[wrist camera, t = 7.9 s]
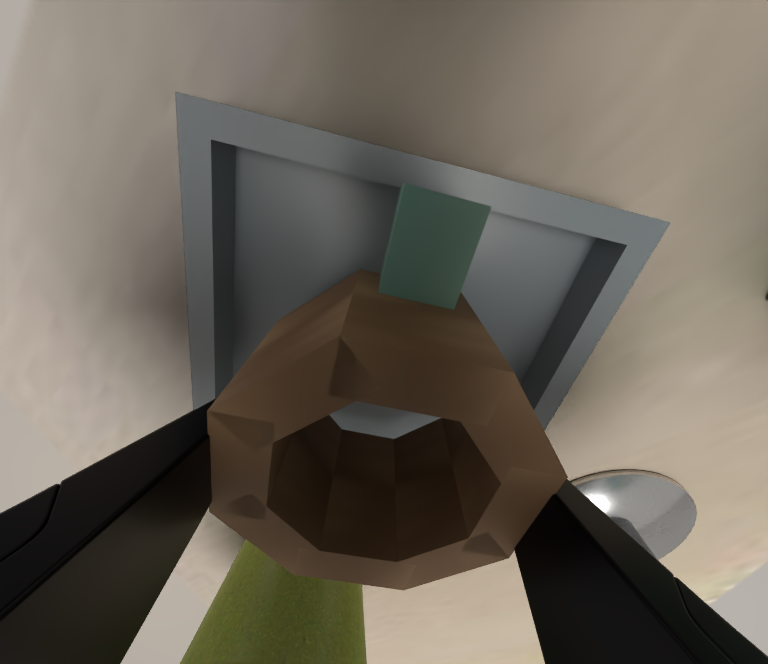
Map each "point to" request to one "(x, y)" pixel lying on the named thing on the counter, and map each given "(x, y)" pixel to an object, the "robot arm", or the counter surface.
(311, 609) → the plant pot
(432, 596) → the counter surface
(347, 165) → the tray
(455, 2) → the counter surface
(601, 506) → the grey peg stand
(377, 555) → the ring
